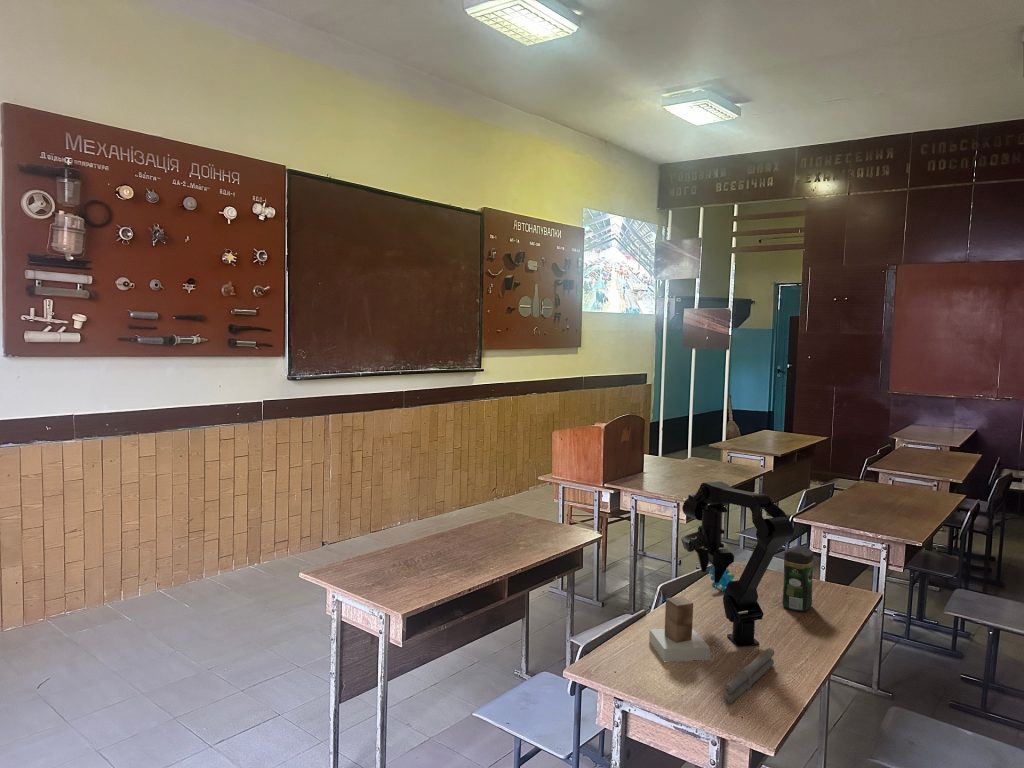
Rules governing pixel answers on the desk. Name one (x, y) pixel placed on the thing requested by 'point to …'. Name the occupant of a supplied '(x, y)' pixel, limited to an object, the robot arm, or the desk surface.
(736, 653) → the desk surface
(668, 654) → the plate
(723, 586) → the gear
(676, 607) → the walnut block
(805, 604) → the coffee jar
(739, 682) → the metal rod assembly
